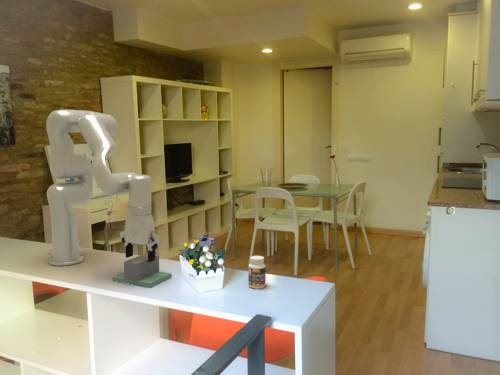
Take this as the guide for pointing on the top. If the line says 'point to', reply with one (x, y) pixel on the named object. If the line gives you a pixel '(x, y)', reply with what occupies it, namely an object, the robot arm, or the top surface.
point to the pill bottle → (256, 272)
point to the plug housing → (140, 267)
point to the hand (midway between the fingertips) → (140, 258)
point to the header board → (145, 279)
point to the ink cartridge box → (205, 239)
